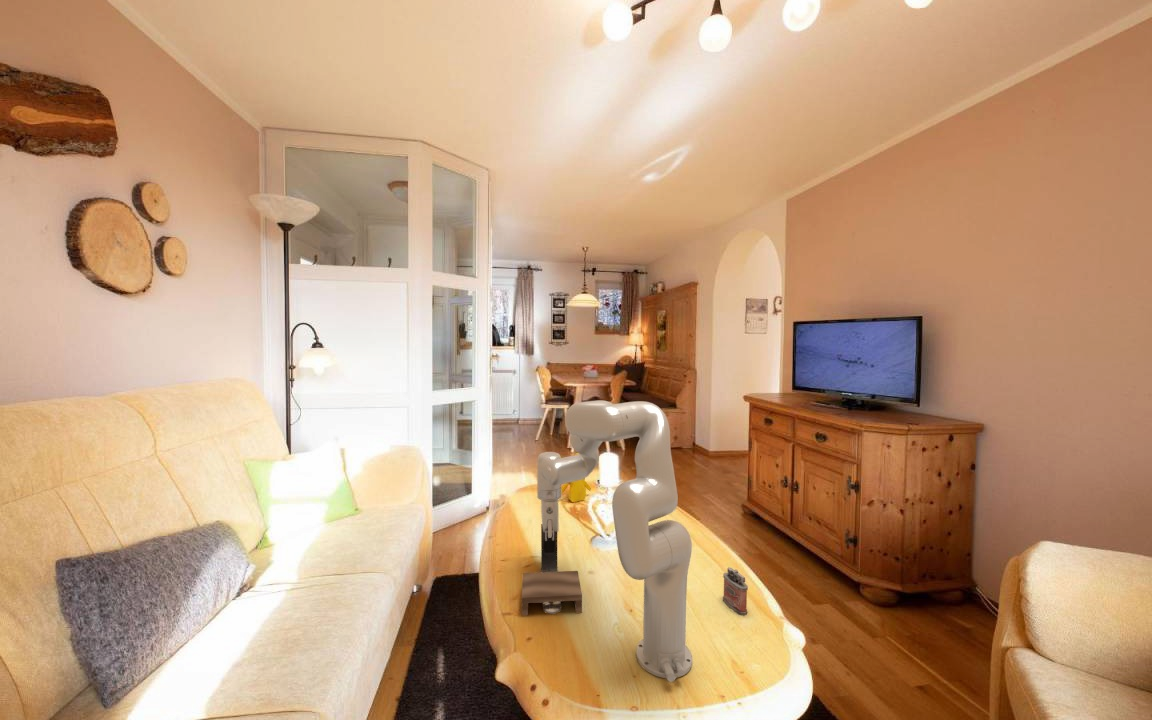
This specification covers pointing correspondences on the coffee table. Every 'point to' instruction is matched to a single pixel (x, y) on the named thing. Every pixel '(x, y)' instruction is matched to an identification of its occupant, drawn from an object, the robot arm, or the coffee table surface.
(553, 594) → the low table
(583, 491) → the figure statuette
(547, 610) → the steel token
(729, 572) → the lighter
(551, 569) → the pusher tool
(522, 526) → the coffee table surface
